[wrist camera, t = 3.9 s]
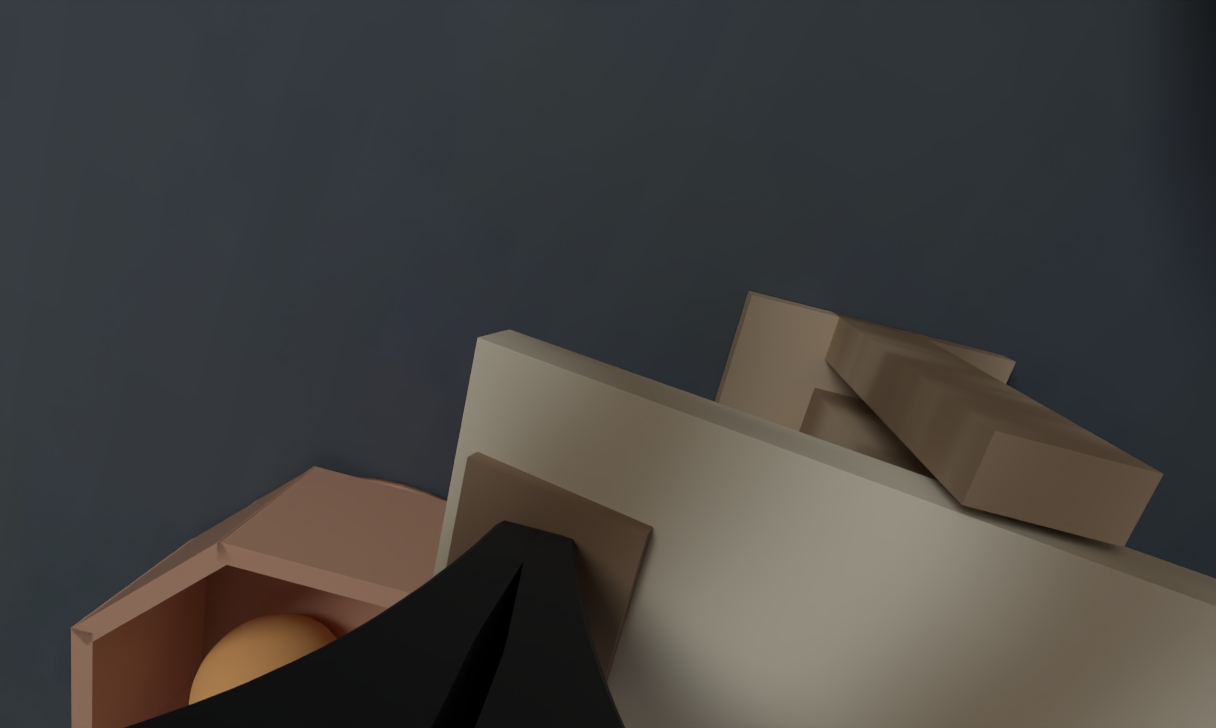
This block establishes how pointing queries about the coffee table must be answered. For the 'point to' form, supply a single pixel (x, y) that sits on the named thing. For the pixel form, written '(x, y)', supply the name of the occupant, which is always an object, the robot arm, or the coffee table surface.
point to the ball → (257, 651)
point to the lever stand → (931, 417)
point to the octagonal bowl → (253, 587)
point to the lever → (811, 569)
